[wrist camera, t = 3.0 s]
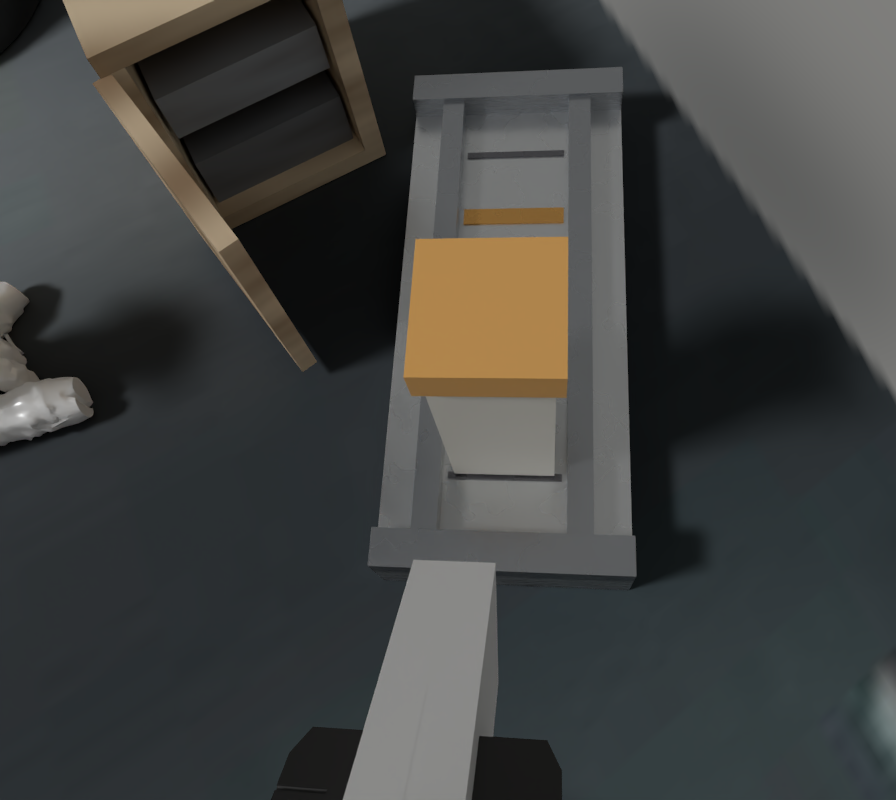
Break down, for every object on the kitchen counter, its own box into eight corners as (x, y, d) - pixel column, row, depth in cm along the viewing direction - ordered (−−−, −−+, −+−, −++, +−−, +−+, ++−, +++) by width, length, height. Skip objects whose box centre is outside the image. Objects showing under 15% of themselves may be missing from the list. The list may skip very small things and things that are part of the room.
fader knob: (561, 483, 31) (567, 378, 22) (446, 480, 32) (403, 377, 23) (562, 376, 33) (568, 236, 24) (453, 375, 34) (415, 239, 24)
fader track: (628, 590, 32) (636, 576, 29) (383, 579, 33) (367, 565, 30) (617, 114, 41) (622, 66, 38) (424, 120, 42) (414, 75, 39)
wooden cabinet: (147, 111, 45) (15, -91, 34) (313, 33, 45) (237, -189, 34) (275, 397, 37) (158, 258, 26) (472, 298, 38) (441, 122, 27)
